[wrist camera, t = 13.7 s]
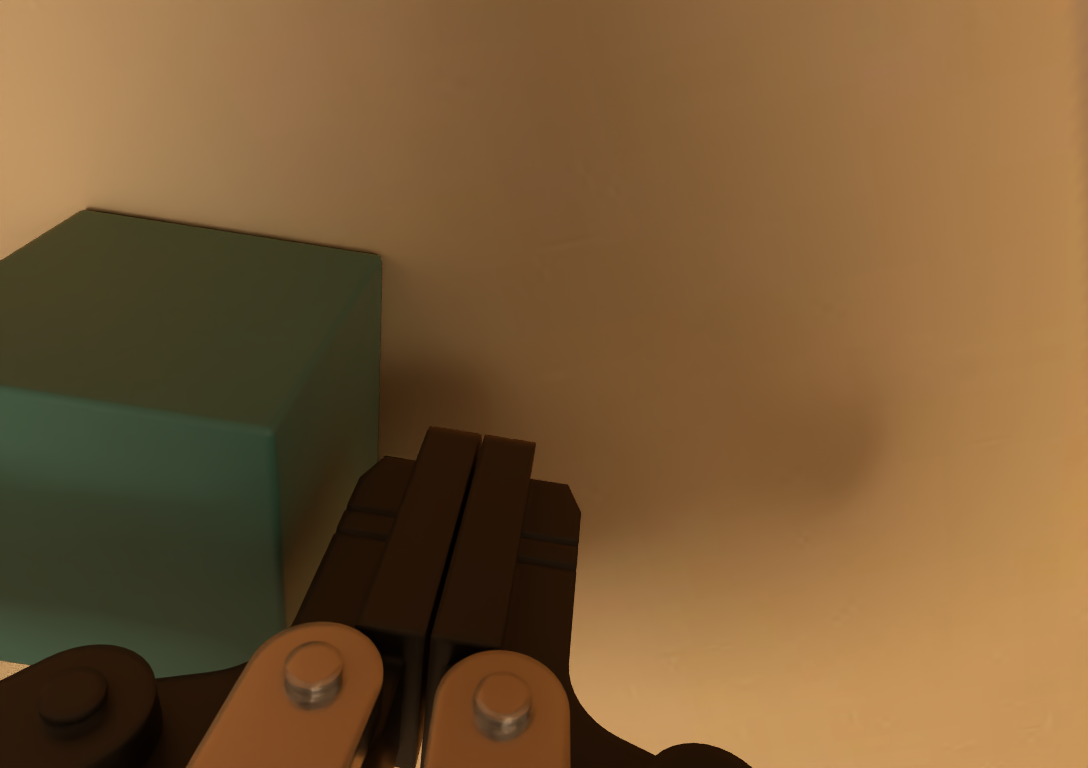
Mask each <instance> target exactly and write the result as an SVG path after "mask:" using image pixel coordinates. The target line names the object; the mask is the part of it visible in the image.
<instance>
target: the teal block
mask: <svg viewBox="0 0 1088 768" xmlns="http://www.w3.org/2000/svg"><path fill="white" fill-rule="evenodd" d="M381 298H382V259H381V257H380V256H378V255H374V254H368V253H361V252H355V251H348V250H342V249H335V248H329V247H322V246H316V245H309V244H303V243H296V242H290V241H284V240H277V239H271V238H264V237H258V236H251V235H245V234H238V233H232V232H225V231H219V230H212V229H206V228H199V227H193V226H186V225H180V224H174V223H167V222H161V221H154V220H148V219H141V218H135V217H128V216H122V215H115V214H109V213H102V212H96V211H89V210H82V211H79V212H78V213H76V214H75V215H73V216H71V217H70V218H68V219H67V220H65V221H63V222H62V223H60V224H59V225H57V226H55V227H54V228H52V229H50V230H49V231H47V232H46V233H44V234H42V235H41V236H39V237H38V238H36V239H34V240H33V241H31V242H30V243H28V244H26V245H25V246H23V247H22V248H20V249H18V250H17V251H15V252H14V253H12V254H10V255H9V256H7V257H6V258H4V259H2V260H1V261H0V661H6V662H12V663H19V664H25V665H33V664H35V663H37V662H39V661H41V660H43V659H45V658H47V657H49V656H52V655H54V654H56V653H59V652H62V651H65V650H68V649H71V648H75V647H80V646H85V645H96V644H105V645H115V646H120V647H124V648H127V649H129V650H132V651H134V652H136V653H137V654H139V655H140V656H142V657H143V658H144V659H145V660H146V661H147V662H148V663H149V665H150V667H151V668H152V670H153V672H154V676H155V678H163V677H172V676H180V675H188V674H196V673H204V672H212V671H218V670H223V669H227V668H231V667H234V666H237V665H240V664H243V663H245V662H247V661H249V660H250V658H251V657H252V656H253V654H254V653H255V651H256V650H257V649H258V648H259V647H260V646H261V645H262V644H263V643H264V642H266V641H267V640H268V639H270V638H271V637H272V636H274V635H276V634H277V633H279V632H281V631H283V630H285V629H288V628H290V626H291V625H292V623H293V621H294V619H295V617H296V615H297V613H298V611H299V608H300V606H301V604H302V602H303V600H304V598H305V595H306V593H307V591H308V589H309V587H310V584H311V582H312V580H313V578H314V576H315V574H316V571H317V569H318V567H319V565H320V563H321V560H322V558H323V556H324V554H325V552H326V550H327V547H328V545H329V543H330V541H331V539H332V536H333V534H334V533H336V529H337V526H338V523H339V521H340V519H341V517H342V515H343V512H344V510H346V509H347V504H348V502H349V499H350V497H351V495H352V493H353V491H354V488H355V486H356V484H357V482H358V480H359V478H360V476H362V475H363V474H364V473H365V472H367V471H368V470H369V469H370V468H371V467H373V466H374V465H375V464H376V463H377V462H378V426H379V384H380V341H381Z"/></svg>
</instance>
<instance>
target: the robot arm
mask: <svg viewBox="0 0 1088 768" xmlns="http://www.w3.org/2000/svg"><path fill="white" fill-rule="evenodd" d="M481 444H482V446H481ZM535 447H536V443H535V442H529V441H523V440H517V439H510V438H504V437H498V436H491V435H485V436H484V439H483V443H482V434H478V433H471V432H465V431H459V430H452V429H446V428H440V427H434V426H430V427H429V428H428V430H427V433H426V435H425V438H424V441H423V443H422V446H421V449H420V451H419V454H418V457H417V459H416V461H415V460H408V459H402V458H396V457H390V456H385V457H384V458H382V459H381V460H380V461H379V462H377V463H376V464H375V465H374V466H373V467H371V468H370V469H369V470H368V471H367V472H365V473H364V474H363V475H362V476H360V478H359V480H358V482H357V484H356V486H355V488H354V491H353V493H352V495H351V497H350V499H349V502H348V504H347V509H346V510H344V512H343V515H342V517H341V519H340V521H339V523H338V526H337V529H336V533H334V534H333V536H332V539H331V541H330V543H329V545H328V547H327V550H326V552H325V554H324V556H323V558H322V560H321V563H320V565H319V567H318V569H317V571H316V574H315V576H314V578H313V580H312V582H311V584H310V587H309V589H308V591H307V593H306V595H305V598H304V600H303V602H302V604H301V606H300V608H299V611H298V613H297V615H296V617H295V619H294V621H293V623H292V625H291V626H290V628H288V629H285V630H283V631H281V632H279V633H277V634H276V635H274V636H272V637H271V638H270V639H268V640H267V641H266V642H264V643H263V644H262V645H261V646H260V647H259V648H258V649H257V650H256V651H255V653H254V654H253V656H252V657H251V658H250V660H249V661H247V662H245V663H243V664H240V665H237V666H234V667H231V668H227V669H223V670H218V671H212V672H204V673H196V674H188V675H180V676H172V677H163V678H155V676H154V672H153V670H152V668H151V667H150V665H149V663H148V662H147V661H146V660H145V659H144V658H143V657H142V656H140V655H139V654H137V653H136V652H134V651H132V650H129V649H127V648H124V647H120V646H115V645H105V644H96V645H85V646H80V647H75V648H71V649H68V650H65V651H62V652H59V653H56V654H54V655H52V656H49V657H47V658H45V659H43V660H41V661H39V662H37V663H35V664H33V665H31V666H29V667H27V668H25V669H23V670H21V671H19V672H17V673H15V674H13V675H11V676H9V677H7V678H5V679H3V680H1V681H0V768H394V767H399V768H415V767H416V763H417V759H418V755H419V751H420V747H421V743H422V753H421V766H420V768H752V767H751V766H749V765H748V764H747V763H746V762H744V761H743V760H742V759H740V758H738V757H737V756H735V755H733V754H732V753H730V752H728V751H725V750H723V749H721V748H718V747H714V746H711V745H707V744H699V743H686V744H680V745H675V746H672V747H669V748H667V749H665V750H663V751H661V752H660V753H659V754H657V755H656V756H655V755H653V754H651V753H649V752H647V751H645V750H643V749H641V748H639V747H637V746H635V745H633V744H631V743H629V742H627V741H625V740H623V739H621V738H619V737H617V736H615V735H614V734H612V733H610V732H608V731H607V730H606V729H604V728H603V727H602V726H600V725H599V724H598V723H597V722H596V721H595V720H594V719H593V718H592V717H591V716H590V715H589V714H588V713H587V712H586V711H585V709H584V708H583V707H582V705H581V704H580V702H579V701H578V699H577V697H576V695H575V693H574V690H573V688H572V685H571V681H570V676H569V656H570V643H571V631H572V618H573V606H574V594H575V581H576V567H577V556H578V543H579V531H580V519H581V511H580V509H579V507H578V505H577V503H576V501H575V499H574V496H573V494H572V492H571V490H570V488H569V486H568V485H566V484H560V483H554V482H547V481H541V480H535V479H531V473H532V467H533V460H534V454H535ZM422 739H423V741H422Z"/></svg>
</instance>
